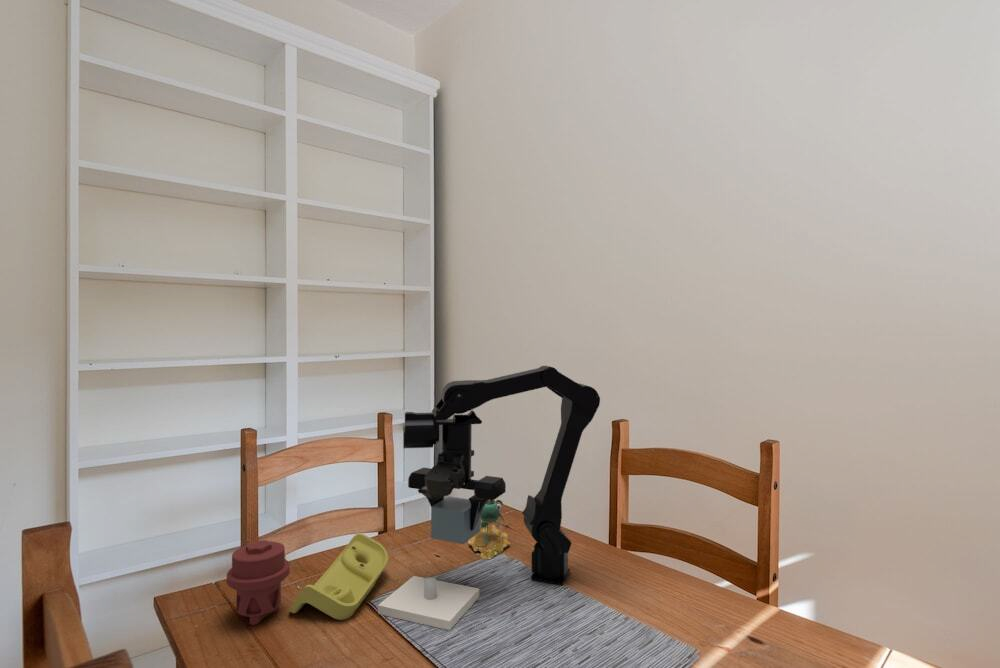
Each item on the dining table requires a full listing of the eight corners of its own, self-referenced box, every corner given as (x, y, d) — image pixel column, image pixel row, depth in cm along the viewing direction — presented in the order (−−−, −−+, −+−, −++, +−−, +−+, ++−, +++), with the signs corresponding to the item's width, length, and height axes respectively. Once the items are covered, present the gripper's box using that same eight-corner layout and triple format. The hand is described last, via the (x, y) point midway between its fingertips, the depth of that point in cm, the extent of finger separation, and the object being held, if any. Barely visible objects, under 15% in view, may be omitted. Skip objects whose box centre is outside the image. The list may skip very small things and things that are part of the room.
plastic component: (351, 610, 90) (299, 580, 91) (335, 647, 91) (284, 617, 93) (396, 552, 110) (353, 528, 111) (381, 582, 111) (339, 558, 113)
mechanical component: (295, 598, 99) (282, 628, 89) (237, 603, 97) (218, 633, 87) (295, 531, 99) (282, 554, 89) (237, 535, 97) (217, 558, 87)
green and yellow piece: (511, 529, 133) (512, 472, 132) (508, 569, 115) (509, 504, 114) (473, 528, 134) (473, 471, 132) (464, 568, 116) (464, 502, 114)
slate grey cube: (479, 531, 106) (480, 501, 106) (463, 544, 99) (463, 511, 99) (448, 525, 109) (449, 496, 109) (430, 538, 102) (431, 506, 102)
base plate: (479, 596, 99) (479, 572, 99) (449, 630, 88) (449, 603, 88) (413, 583, 105) (413, 560, 105) (378, 613, 93) (378, 588, 93)
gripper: (392, 450, 100) (391, 533, 100) (482, 460, 93) (481, 550, 93) (423, 439, 110) (422, 515, 110) (507, 448, 103) (506, 529, 103)
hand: (455, 527), depth 104 cm, fingers closed on slate grey cube, 7 cm apart
